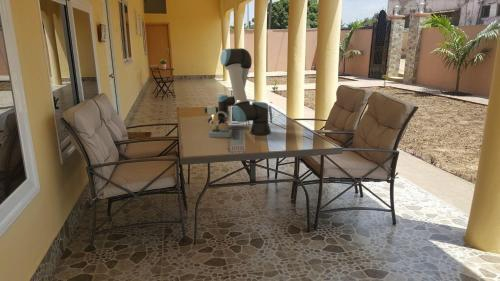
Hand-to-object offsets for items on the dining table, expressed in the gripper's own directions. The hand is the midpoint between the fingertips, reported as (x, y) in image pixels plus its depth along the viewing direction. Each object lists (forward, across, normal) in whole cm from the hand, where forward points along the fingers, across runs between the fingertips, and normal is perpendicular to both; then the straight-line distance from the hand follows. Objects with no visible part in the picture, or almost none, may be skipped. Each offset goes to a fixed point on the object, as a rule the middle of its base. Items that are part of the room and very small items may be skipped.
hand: (213, 123), depth 262 cm
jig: (-5, -4, -10) cm, 12 cm away
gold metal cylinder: (-5, 0, -8) cm, 10 cm away
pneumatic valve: (-65, +18, -10) cm, 69 cm away
